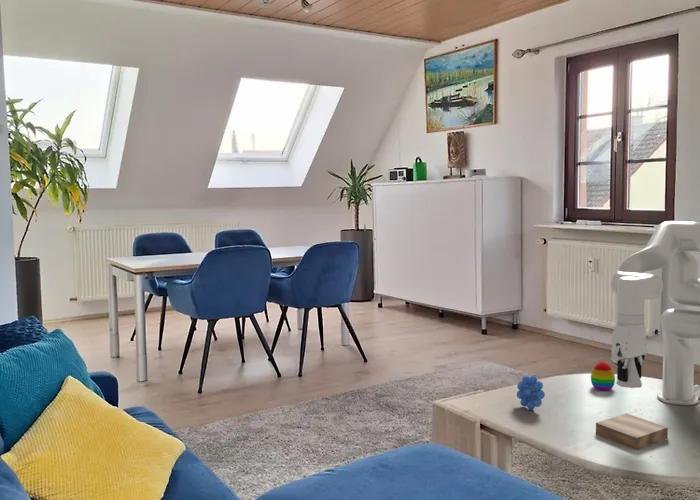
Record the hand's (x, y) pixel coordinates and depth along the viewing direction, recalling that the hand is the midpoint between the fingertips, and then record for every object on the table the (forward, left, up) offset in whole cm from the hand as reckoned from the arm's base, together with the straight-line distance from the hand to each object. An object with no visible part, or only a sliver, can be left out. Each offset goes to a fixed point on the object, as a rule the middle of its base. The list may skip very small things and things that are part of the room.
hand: (629, 378), depth 193 cm
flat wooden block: (0, +1, -18) cm, 18 cm away
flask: (0, 0, -2) cm, 2 cm away
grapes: (+7, -32, -18) cm, 37 cm away
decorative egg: (-29, -33, -18) cm, 47 cm away
